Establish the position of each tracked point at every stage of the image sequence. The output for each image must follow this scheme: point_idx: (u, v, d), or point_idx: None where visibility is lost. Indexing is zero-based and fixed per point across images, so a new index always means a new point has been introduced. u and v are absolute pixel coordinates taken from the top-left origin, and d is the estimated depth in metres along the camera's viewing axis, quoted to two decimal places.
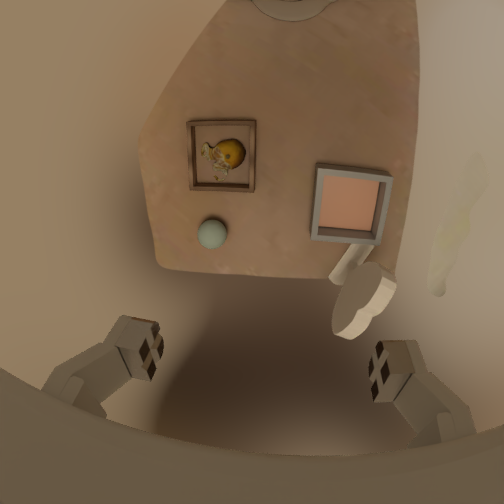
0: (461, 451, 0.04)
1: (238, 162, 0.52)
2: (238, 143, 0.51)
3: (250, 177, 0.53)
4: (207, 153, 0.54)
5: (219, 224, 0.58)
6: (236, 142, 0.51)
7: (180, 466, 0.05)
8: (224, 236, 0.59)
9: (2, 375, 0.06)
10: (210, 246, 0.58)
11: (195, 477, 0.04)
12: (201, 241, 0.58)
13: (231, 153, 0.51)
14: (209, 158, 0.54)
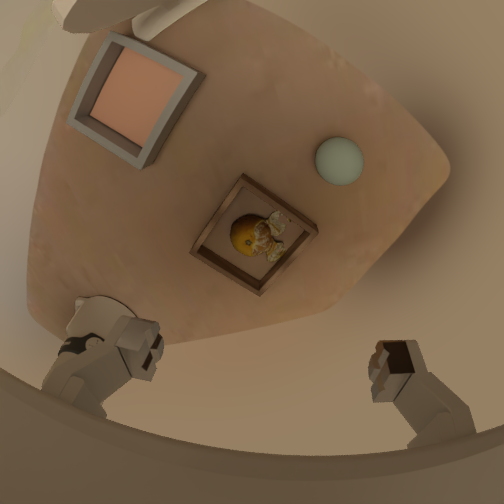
0: (461, 451, 0.04)
1: (242, 226, 0.39)
2: (231, 241, 0.42)
3: (231, 198, 0.37)
4: (276, 250, 0.43)
5: None
6: None
7: (180, 466, 0.05)
8: (321, 149, 0.32)
9: (2, 375, 0.06)
10: (349, 155, 0.30)
11: (195, 477, 0.04)
12: (356, 171, 0.31)
13: (242, 242, 0.40)
14: (277, 244, 0.42)
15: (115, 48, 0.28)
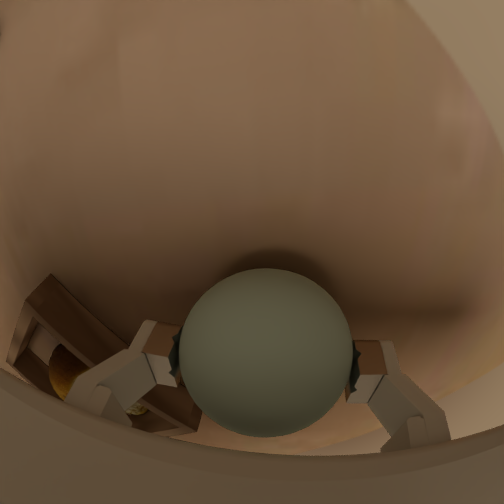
0: (461, 451, 0.04)
1: (54, 372, 0.15)
2: None
3: (24, 327, 0.13)
4: (133, 404, 0.19)
5: None
6: None
7: (180, 466, 0.05)
8: (195, 328, 0.08)
9: (2, 375, 0.06)
10: (289, 404, 0.07)
11: (195, 477, 0.04)
12: (301, 428, 0.08)
13: (60, 394, 0.16)
14: None
15: None
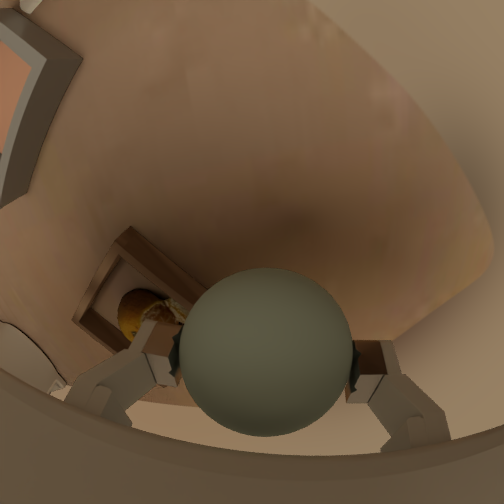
0: (461, 451, 0.04)
1: (126, 310, 0.23)
2: None
3: (106, 268, 0.21)
4: None
5: None
6: None
7: (180, 466, 0.05)
8: (195, 327, 0.08)
9: (2, 375, 0.06)
10: (289, 403, 0.07)
11: (195, 477, 0.04)
12: (301, 427, 0.08)
13: (128, 332, 0.24)
14: None
15: None
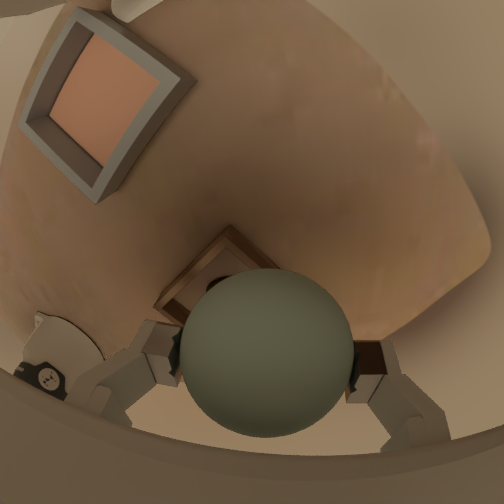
0: (461, 451, 0.04)
1: None
2: None
3: (209, 259, 0.28)
4: None
5: None
6: None
7: (180, 466, 0.05)
8: (196, 328, 0.08)
9: (3, 375, 0.06)
10: (291, 404, 0.07)
11: (195, 477, 0.04)
12: (302, 428, 0.08)
13: None
14: None
15: (82, 30, 0.18)
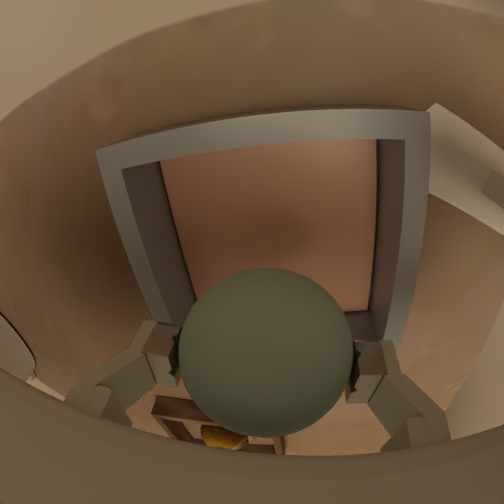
0: (461, 451, 0.04)
1: (227, 437, 0.27)
2: (202, 428, 0.29)
3: None
4: None
5: None
6: (201, 431, 0.29)
7: (180, 466, 0.05)
8: (195, 327, 0.08)
9: (2, 375, 0.06)
10: (289, 404, 0.07)
11: (195, 477, 0.04)
12: (301, 428, 0.08)
13: (215, 445, 0.28)
14: None
15: None
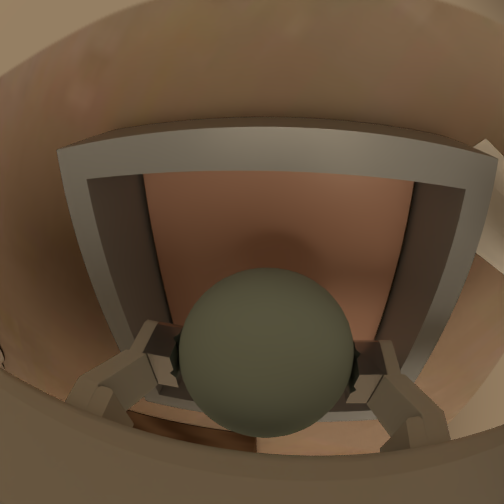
0: (461, 451, 0.04)
1: None
2: None
3: None
4: None
5: None
6: None
7: (180, 466, 0.05)
8: (195, 327, 0.08)
9: (2, 375, 0.06)
10: (290, 404, 0.07)
11: (195, 477, 0.04)
12: (302, 428, 0.08)
13: None
14: None
15: None
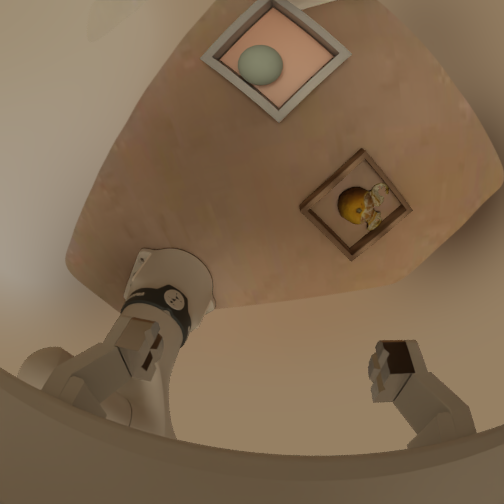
0: (461, 451, 0.04)
1: (354, 195, 0.41)
2: (340, 210, 0.44)
3: (353, 167, 0.39)
4: (375, 219, 0.45)
5: None
6: (341, 213, 0.44)
7: (180, 466, 0.05)
8: None
9: (3, 375, 0.06)
10: (243, 65, 0.31)
11: (195, 477, 0.04)
12: (256, 72, 0.31)
13: (353, 210, 0.42)
14: (377, 214, 0.44)
15: (267, 6, 0.29)
